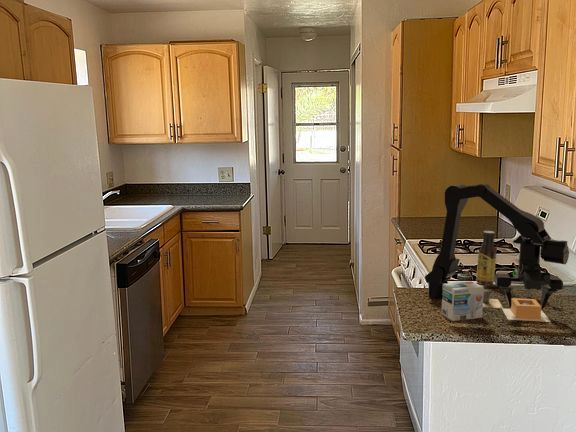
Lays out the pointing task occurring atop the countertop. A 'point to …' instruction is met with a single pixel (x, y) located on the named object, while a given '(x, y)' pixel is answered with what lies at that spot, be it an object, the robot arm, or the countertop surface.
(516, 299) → the collar
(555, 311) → the countertop surface
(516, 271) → the mechanical component
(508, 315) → the hub board
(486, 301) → the stand
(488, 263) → the sauce bottle
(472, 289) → the light bulb box
